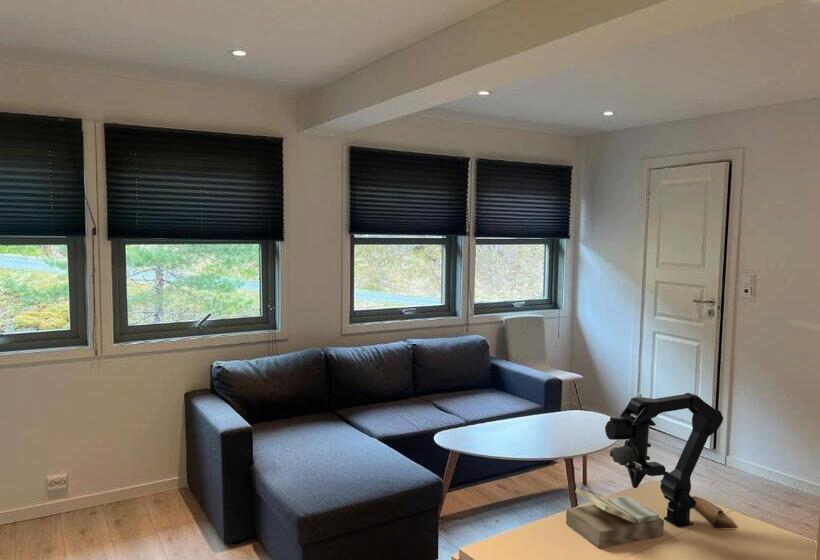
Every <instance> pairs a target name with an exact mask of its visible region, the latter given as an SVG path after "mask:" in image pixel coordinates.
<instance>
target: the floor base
mask: <svg viewBox="0 0 820 560" xmlns="http://www.w3.org/2000/svg"><path fill="white" fill-rule="evenodd" d="M607 500H608V501H609V502H611V503H613V504H614V505H616V506H618V507H619V508H621V509H622V510H624V511H626V512H627V513H629V514H631V515H632V516H634V517H636V518H637V521H636V523H633V522H631V521H628V520H626V519H623V518H621V517H618V516H616V515H613V514H611V513H608V512H606V511H604V510H602V509H601V508H599V507H597V506H596V505H594V504H588V505H585V506H584V505H583V506H577V507H572V508H566V513H565V514H566V515H565V518H566V519H565V525H566V524H567V525H568V526H567V525H566V526H567V527H569V528H570V527H571V528H572V529H571V528H570V529H571V530H573V531H574V532H576V534H578V535H580V536H581V537H582V538H583V539H584V540H586V541H588V542H589V543H591V544H592V545H593V546H594V547H595V548H597V549H600V550H601V549H604V548H609V547H610V548H611V547H616V546H619V545H624V544H630V543H635V542H640V541H644V540H645V541H646V540H647V541H648V540H651V539H655V538H660V537H664V527H665V526H664V525H665V519H663V518H661V517H660V514H659V513H657V512H655V511H654V510H652V509H650V508H649V507H646V506H645V505H643V504H642V503H640V502H638V501H636V500H635V499H632V498H631V497H630V496H621V497H615V498H608V499H607Z"/></svg>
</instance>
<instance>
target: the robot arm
mask: <svg viewBox="0 0 820 560" xmlns="http://www.w3.org/2000/svg"><path fill="white" fill-rule="evenodd" d="M685 409H688V411H689V412H690V413H692V414H693V415H692V417H691V426H692V430H691V433H690V434H689V437H688V439H687V441H686V444H685V446H684V448H683V450H682V452H681V454H680V457H679V458H678V461H677V463H676V465H675V468H674V469H673V470H672V471H670V472H669V471H666V470H667V469H666V467H665V465H663V464H661V463H659V462H657V461H650V460H651V457H650V456H649V455H648V448H651V447H652V443H650V442H649V434H650V427H652V426H653V427H655V426H656V425H657V423H655V421H653V420H652V419H654V418H656V417H658V415H660V414H663V413H669V412H674V411H675V412H676V411H680V410H685ZM723 421H724V416H723V413H722V412H721V411H720V410H718V409H717V408H714V407H712V405H710V404H708V403H707V402H705V401H704V400H703V399H702V398H701V397H700V396H698V395H696V394H694V393H690V392H685V393H684V394H677V395H670V396H665V397H657V398H650V397H644V396H643V397H641V396H640V397H639V396H638V397H637V396H636V397H632V398H630V400H629V401H628V404H627V405H626V407H624V409H623V411H621V414H620V415H619V417H615V416H611V417H609V421H607V423H606V424H605V426H604V430H605V434H606V435H605V436H606V437H607V438H608V439H609V440H610V441H612V440H613V441H614V440H620V441H621V440H625V441H624V445H623V446H618V447H616V446H615V447H612V448H611V449H610V451H609V456H610V458H611V457H612V459H613V462H614V463H617V464H619V466H624V467H625V468H626V469H627V471H628V472H627V473H628V475H629V479H630V483H631V487H632V488H634V489H637V488H638V487H639V486H640V485H641V482H642V481H643V479H644V478H645V477H646V475H647V476H650V477H658V476H659V477H660V476H663V477H662V479H661V480H660V482H659V483H660V485H659V486H660V490H661V493H662V494H663V497H664V499H665V500H667V501H668V503H667V508H666V516H663V520H664V521H666V522H668V523H670V524H672V525H673V526H675V527H677V528H683V527H689V526H693V525H694V522H692V521H691V520H690V519H691V510H692V509H695V508H694V507H695V505H696V501H695V500H694V499H693V498H692V497H693V496H692V495H690V493H691V490H692V482H691V477H692V474H693V472H694V470H695V468H696V465H697V463H698V460H699V458H700V456H701V454H702V452H703V450H704V448H705V445H706V443H707V441H708V439H709V437H710V436H711V435H713V434H714V433H716V432H717V431H718V430H719V428H720V426H721V425H722V424H723Z"/></svg>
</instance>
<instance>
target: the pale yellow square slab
mask: <svg viewBox="0 0 820 560" xmlns="http://www.w3.org/2000/svg"><path fill="white" fill-rule="evenodd" d="M574 492H575V493H576V494H577V495H579V496H580V497H581V498H584V499H585V500H587V501H588V502H590V503H591V504H592V505H596V506H597V507H599V508H601V509H602V510H604V511H606V512H608V513H611V514H613V515H616V516H618V517H621V518H623V519H626V520H628V521H631V522H633V523H636V521H637V518H636V517H634V516H632V515H631V514H629V513H627V512H626V511H624V510H622V509H621V508H619V507H618V506H616V505H614V504H613V503H611V502H609V501H608V499H606V498H603V497H600V496H599V495H596V494H593V493H591V492H589V491H586V490H584V489H581V488H579V487H576V489H575V491H574Z"/></svg>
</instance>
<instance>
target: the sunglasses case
mask: <svg viewBox="0 0 820 560" xmlns="http://www.w3.org/2000/svg"><path fill="white" fill-rule="evenodd" d="M691 497H692V498H693V499H694V500H695V501H696V505H695V507H694V508H693V509H695V510H696V511H698V512H699V514H701V515H702V516H703V517H704V518H705V519H706V520H707V521H708V522H709V524H711V525H712V526H713V527H715V529H716V528H739V527H738V526H737V524H736V523H735V522H734V521H733V520H732V519H731V518H730V517H729V516H728V515H727V514H726V513H725V512H724V510H723V509H722V508H721V507H719V506H717V505H716V504H714V503H712V502H710V501H708V500H706V499H704V498H701V497H699V496H695V495H694V496H691Z"/></svg>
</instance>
